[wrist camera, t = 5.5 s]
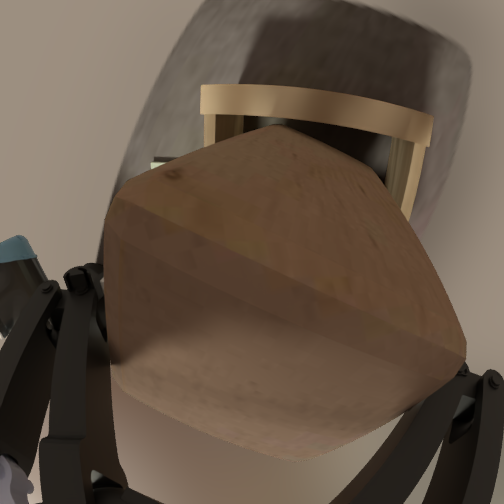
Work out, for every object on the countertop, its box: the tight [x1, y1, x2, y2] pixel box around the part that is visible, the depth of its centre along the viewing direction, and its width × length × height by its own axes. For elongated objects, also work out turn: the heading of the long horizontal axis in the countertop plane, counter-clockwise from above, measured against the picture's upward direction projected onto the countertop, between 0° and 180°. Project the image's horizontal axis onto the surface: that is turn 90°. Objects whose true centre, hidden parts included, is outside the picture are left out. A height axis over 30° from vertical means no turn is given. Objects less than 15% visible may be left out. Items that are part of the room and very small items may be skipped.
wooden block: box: [104, 124, 466, 462], centre depth 16 cm, size 10×10×20 cm
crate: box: [200, 84, 434, 222], centre depth 25 cm, size 18×18×9 cm
